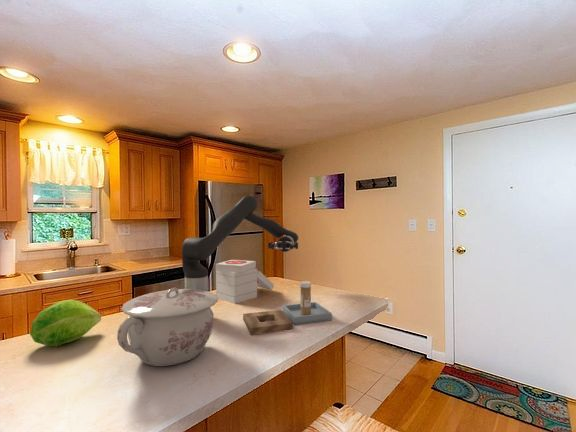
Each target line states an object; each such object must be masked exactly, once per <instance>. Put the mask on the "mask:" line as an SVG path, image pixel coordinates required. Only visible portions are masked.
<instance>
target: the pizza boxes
mask: <svg viewBox="0 0 576 432" xmlns="http://www.w3.org/2000/svg"><path fill="white" fill-rule="evenodd" d="M256 266H257V263H256V260H245V259H242V260H241V259H230V260H226V261H221V262H219V263H218V262H217V263H215V295H216V296H217V297H218V300H222V301H225V302H228V303H231V304H234V305H235V304H238V303H242V302H245V301H249V300H251V299H255V298H258V288H262V289H265V290H270V291H272V290H274V287H275V284H274V283H273V282H272V281H271V280H270V279H269V278H268V277H266V276H265V274H263V273H262V272H261V271H260V270H258V268H257V267H256Z"/></svg>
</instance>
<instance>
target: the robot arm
mask: <svg viewBox="0 0 576 432" xmlns="http://www.w3.org/2000/svg"><path fill="white" fill-rule="evenodd" d="M257 208H258V201H257V198H255V196H252V195H245V196H242V198H241V199H240V200H239V201H238V202H236V204H235V205H234V206H233V207H231V208H230V209H229V210H227V211H225V212H224V213H223V214H221V215H220V216H218V217H217V218H216V220H215V221H214V222H213V224H212V230H211V232H210V233H208V234H207V235H206V236H204V237H187V238H185V240H184V241H183V243H182V247H181V261H182V263H181V264H182V271H183V273H184V289H195V290H203V291H207V292H209V278H208V277H209V275H208V274H209V272H208V271H209V270H208V269H207V267H205V266H203V264H201V262H200V261H206V260H207V259H209V258H210V256H212V254H213V253H214V252H215V251H216V250H217V249H218V247H219V246H220V245H221V243H222V242H223V241H224V240H225V239H226V238H228V237H229V236H230V235H231V234H232V233H233V232H234V231H235V230H236V229H237V228H238V227H239V226H240V224H241V223H242V222H243V221H244V220H246V221H247V222H250V223H252V224H254V225H256V226H258V227H260V228H261V229H263V230H264V231H266V232H267V233H269V234H270V235H271V236H272V237H274V238H275V239H277V241H271V242H268V243H267V249H269V250H270V249H271V250H274V249H275V250H280V251H281V252H282V253H283V252H284V253H287V252H289V251H290V250H295V249H296V250H298V249H299V242H298V241H299V235H298V234H297V233H296V232H294V231H292V230H289V229H286V228H284V227H283V226H282V225H280V224H279V223H277V221H275V220H273V219H270V218H268V217H263V216H260V215H257V214H255V213H254V212H255V211H256V210H257Z"/></svg>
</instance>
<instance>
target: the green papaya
mask: <svg viewBox="0 0 576 432" xmlns="http://www.w3.org/2000/svg"><path fill="white" fill-rule="evenodd" d="M101 321H102V315H101V314H100V312H98V311H97V310H95V308H94V307H92V306H90V305H89V304H87V303H85V302H82V301H80V300H76V299H75V300H74V299H68V300H67V299H65V300H61V301H57V302H54V303H53V304H51V305H50V306H48V307H46V308H45V309H43V310H41V311H40V312H39V313H38V314H37V316H36V317H35V318H34V319H33V321H32V323H31V327H30V333H29V335H30V337H31V338H32V340H33V342H34V343H37V344H40V345H42V346H43V345H44V346H49V347H58V346H61V345H65V344H68V343H70V342H74V341H77V340H79V339H80V338H82V337H84V336H85V335H86V334H87V333H88V332H89V331H90V330H91V329H92V328H94V327H95V326H96V325H98V324H99V323H100V322H101Z"/></svg>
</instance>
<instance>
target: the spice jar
mask: <svg viewBox="0 0 576 432" xmlns="http://www.w3.org/2000/svg"><path fill="white" fill-rule="evenodd" d="M299 287H300V303H301V312H300V313H301V314H302V315H310V314H311V302H312V300H311V299H312V295H311V293H312V292H311V288H312V282H311V281H309V280H303V281H300V284H299Z"/></svg>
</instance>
